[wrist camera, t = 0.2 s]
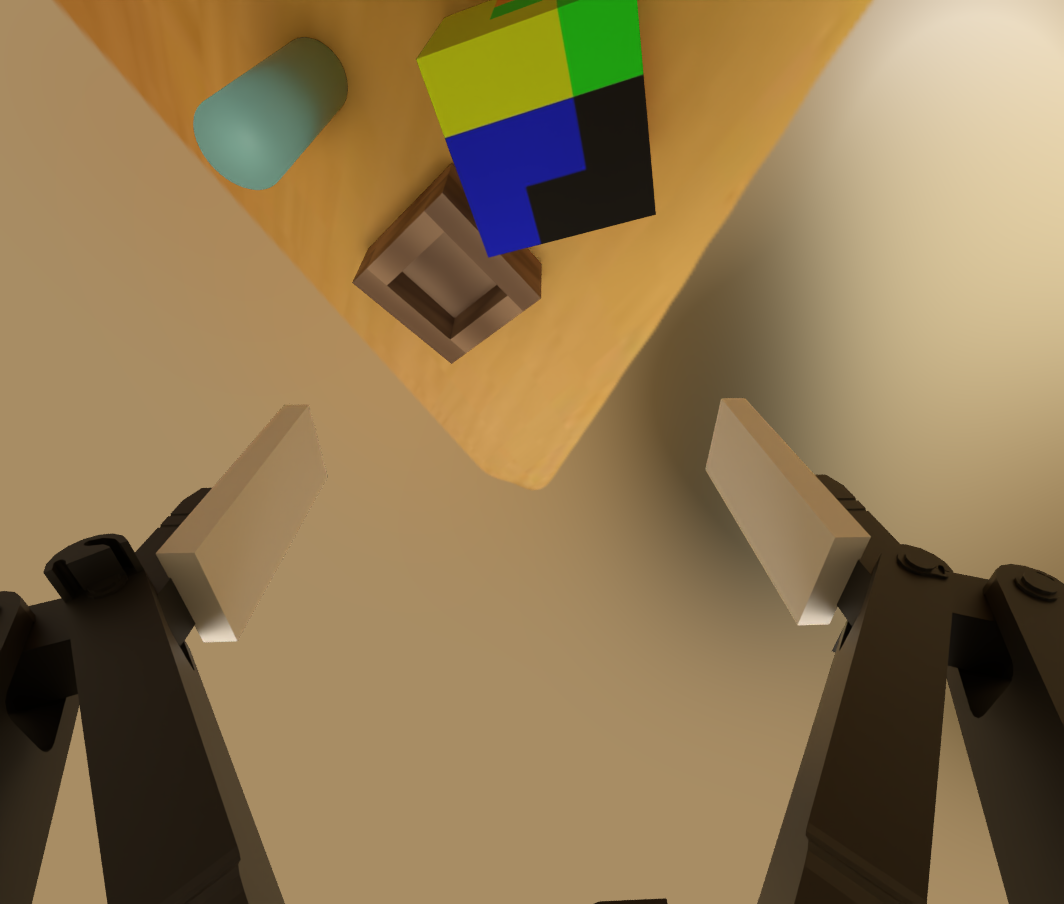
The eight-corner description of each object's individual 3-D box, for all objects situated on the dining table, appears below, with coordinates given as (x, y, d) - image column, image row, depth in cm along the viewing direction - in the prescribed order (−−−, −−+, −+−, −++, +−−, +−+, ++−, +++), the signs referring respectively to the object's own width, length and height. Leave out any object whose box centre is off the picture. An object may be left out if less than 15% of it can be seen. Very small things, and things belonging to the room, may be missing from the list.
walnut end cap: (451, 162, 35) (442, 192, 32) (541, 264, 41) (541, 298, 38) (367, 249, 40) (352, 282, 37) (458, 328, 46) (451, 363, 43)
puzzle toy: (498, 189, 37) (488, 257, 30) (444, 17, 29) (416, 59, 23) (635, 149, 34) (655, 214, 28) (613, -47, 27) (635, -21, 21)
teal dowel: (303, 19, 29) (216, 74, 22) (360, 82, 32) (300, 151, 24) (269, 72, 31) (179, 140, 24) (325, 128, 34) (259, 206, 26)
